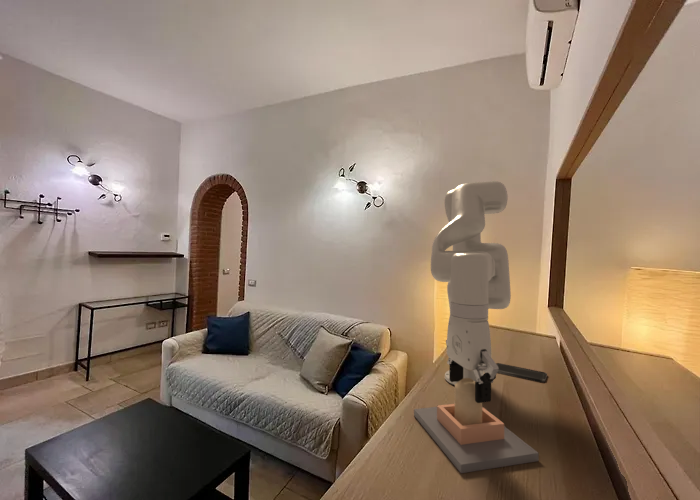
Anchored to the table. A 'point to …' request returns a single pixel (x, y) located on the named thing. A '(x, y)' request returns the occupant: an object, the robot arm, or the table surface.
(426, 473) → the table surface
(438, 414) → the candle stand
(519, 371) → the phone
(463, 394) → the candle
